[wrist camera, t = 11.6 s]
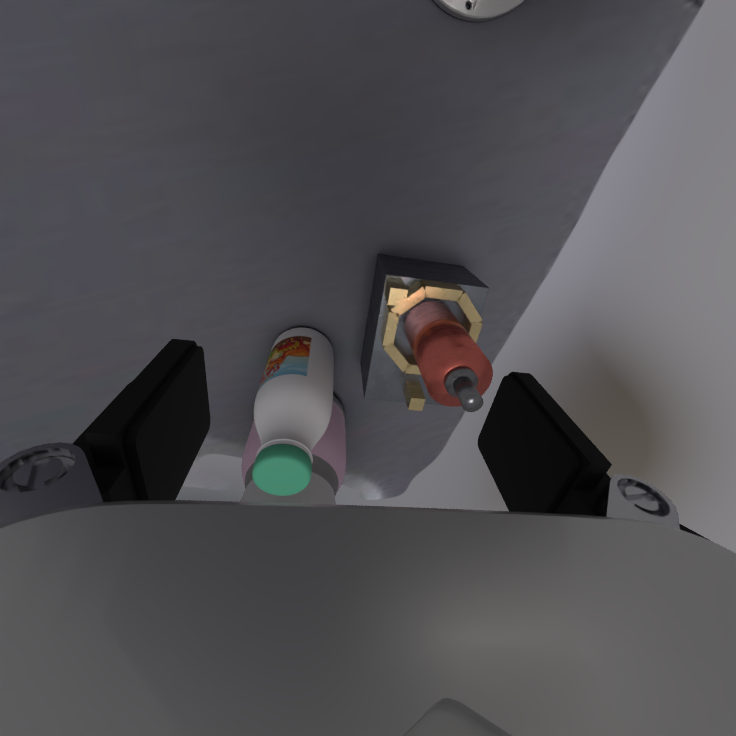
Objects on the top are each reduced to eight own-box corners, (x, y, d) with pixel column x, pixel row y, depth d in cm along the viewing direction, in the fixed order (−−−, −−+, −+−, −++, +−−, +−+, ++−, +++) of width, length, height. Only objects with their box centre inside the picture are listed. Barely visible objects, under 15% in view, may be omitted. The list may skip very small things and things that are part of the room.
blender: (240, 395, 47) (100, 729, 19) (323, 364, 45) (299, 680, 18) (293, 470, 55) (248, 782, 27) (366, 446, 53) (394, 751, 26)
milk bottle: (337, 329, 43) (336, 446, 26) (330, 380, 47) (325, 512, 30) (273, 321, 41) (227, 439, 25) (271, 375, 45) (231, 508, 28)
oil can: (410, 297, 33) (448, 368, 22) (460, 305, 34) (521, 376, 22) (399, 344, 35) (427, 429, 24) (445, 350, 36) (494, 434, 25)
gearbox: (377, 254, 38) (390, 284, 29) (471, 267, 40) (512, 300, 30) (360, 362, 45) (366, 416, 36) (440, 370, 47) (466, 423, 38)
